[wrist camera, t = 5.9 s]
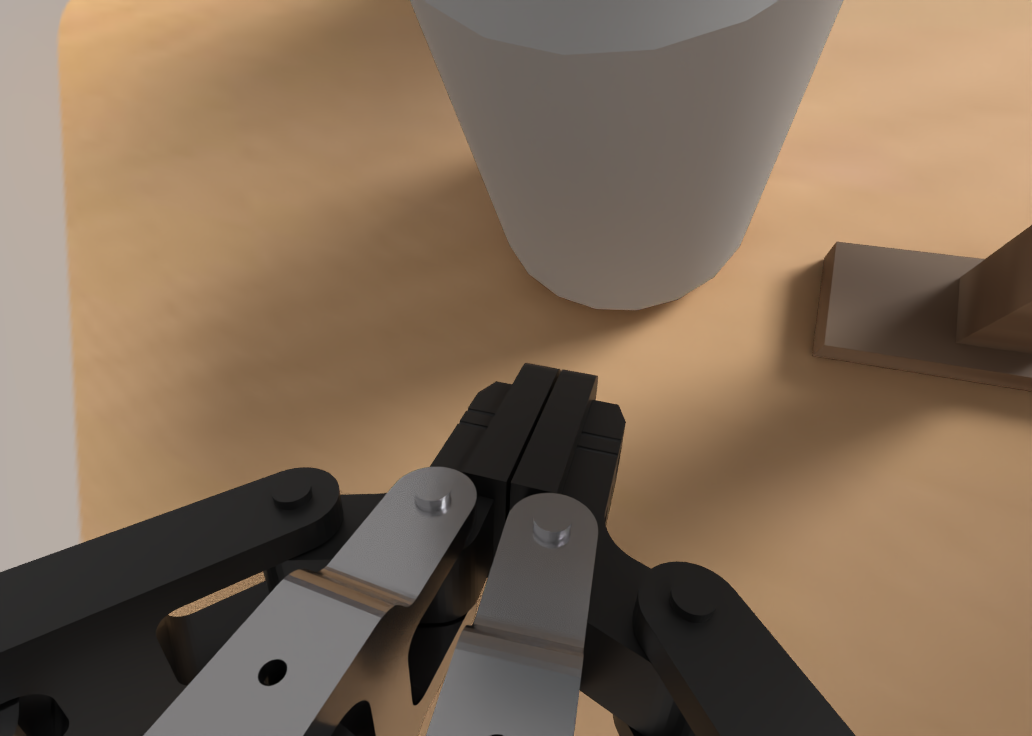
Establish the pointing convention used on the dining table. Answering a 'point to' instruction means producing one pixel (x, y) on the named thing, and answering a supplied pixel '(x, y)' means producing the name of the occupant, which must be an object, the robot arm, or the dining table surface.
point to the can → (625, 128)
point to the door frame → (930, 311)
